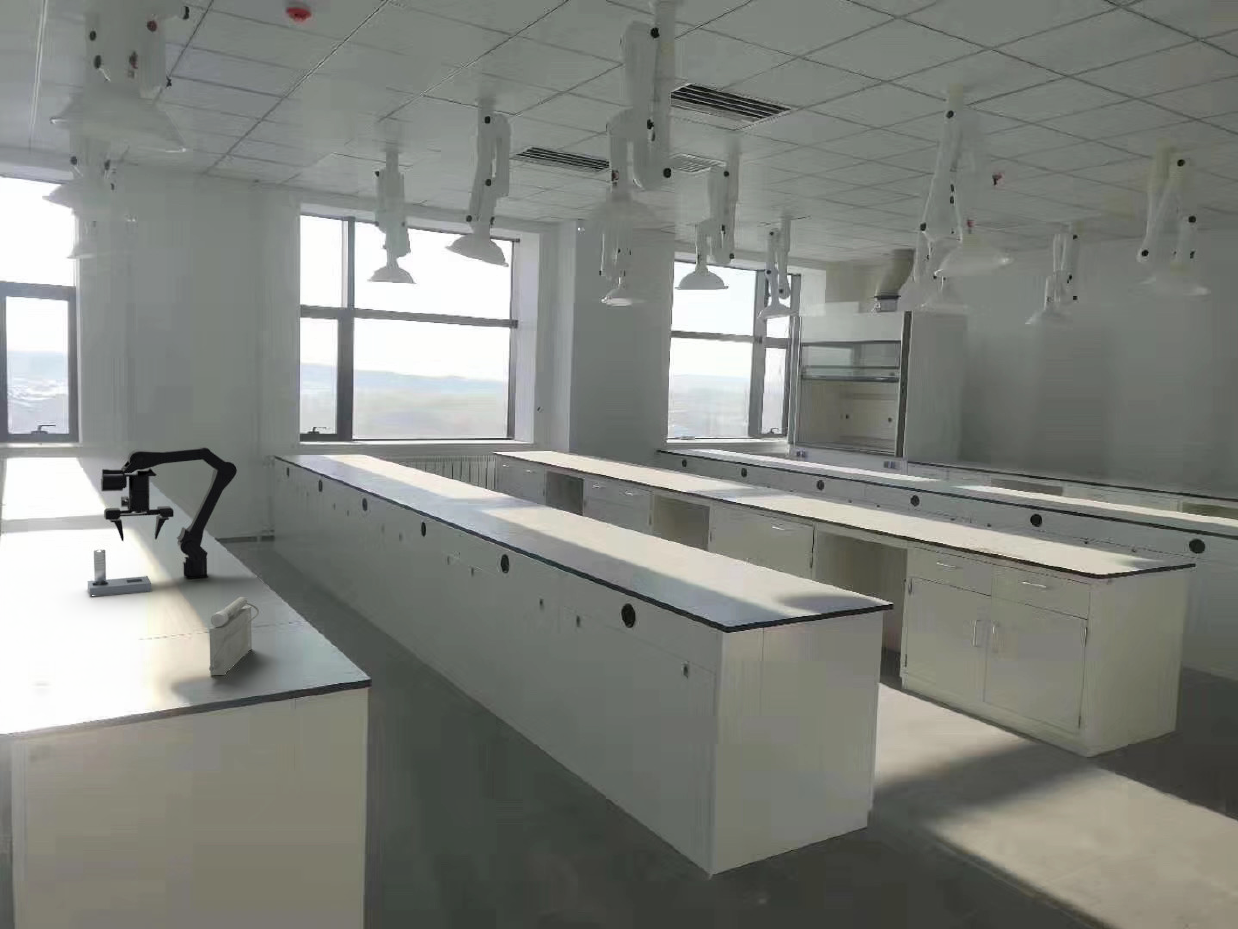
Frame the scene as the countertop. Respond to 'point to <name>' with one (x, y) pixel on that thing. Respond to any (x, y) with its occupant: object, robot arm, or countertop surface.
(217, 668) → the geiger counter
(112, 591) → the socket block
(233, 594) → the countertop surface
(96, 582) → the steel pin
